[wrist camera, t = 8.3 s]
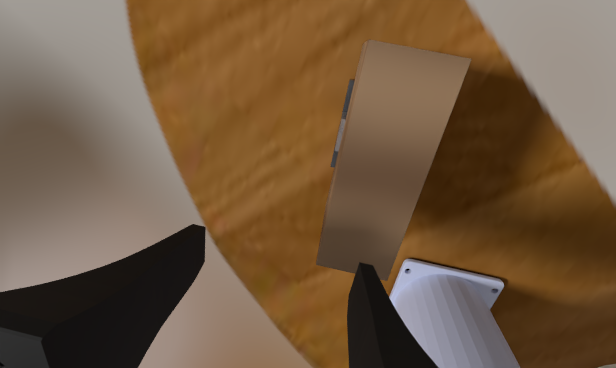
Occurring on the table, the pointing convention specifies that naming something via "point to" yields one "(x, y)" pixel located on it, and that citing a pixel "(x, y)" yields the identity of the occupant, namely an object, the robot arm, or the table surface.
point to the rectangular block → (386, 152)
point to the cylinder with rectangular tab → (608, 366)
